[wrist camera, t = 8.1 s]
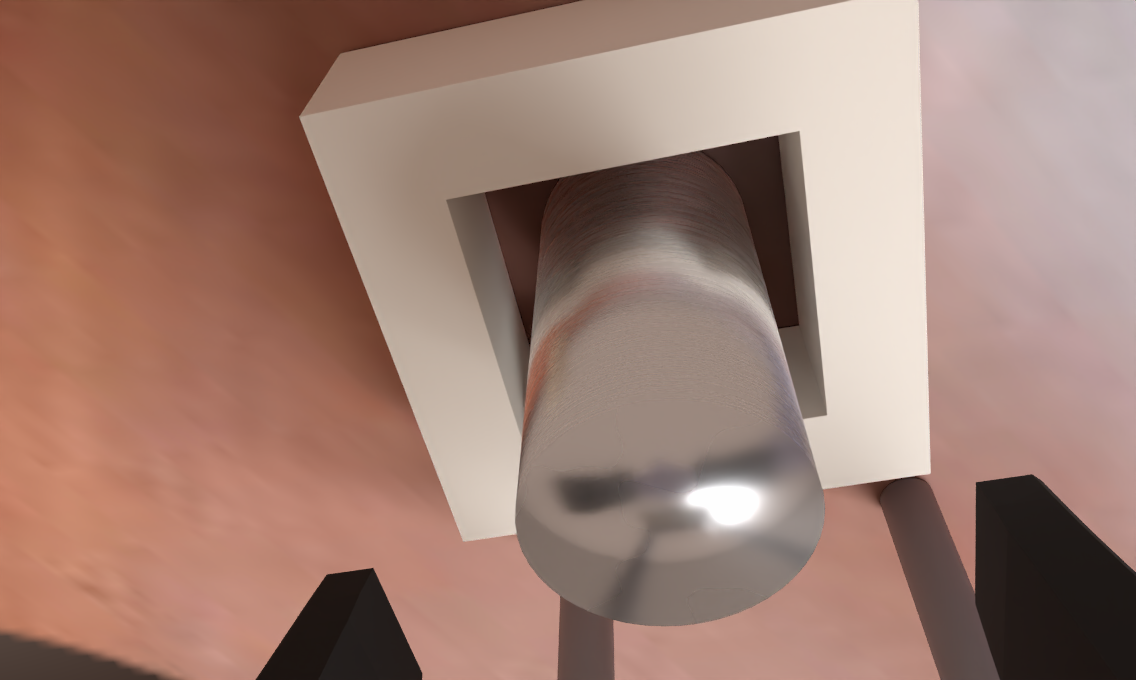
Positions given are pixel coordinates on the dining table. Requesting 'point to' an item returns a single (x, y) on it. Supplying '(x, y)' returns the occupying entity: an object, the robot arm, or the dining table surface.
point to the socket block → (624, 136)
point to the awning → (927, 571)
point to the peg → (660, 404)
